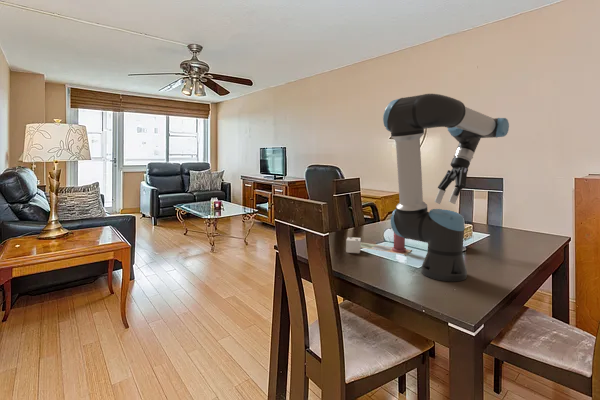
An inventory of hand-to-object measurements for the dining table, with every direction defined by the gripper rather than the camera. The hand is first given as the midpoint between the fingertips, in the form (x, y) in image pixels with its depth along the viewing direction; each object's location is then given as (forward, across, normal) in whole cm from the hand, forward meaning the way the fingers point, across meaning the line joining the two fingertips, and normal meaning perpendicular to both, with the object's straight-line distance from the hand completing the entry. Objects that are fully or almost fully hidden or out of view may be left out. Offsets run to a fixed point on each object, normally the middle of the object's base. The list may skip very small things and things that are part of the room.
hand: (444, 202), depth 148 cm
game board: (+30, +7, +16) cm, 35 cm away
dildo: (+28, +2, +10) cm, 30 cm away
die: (+37, +3, +29) cm, 47 cm away
